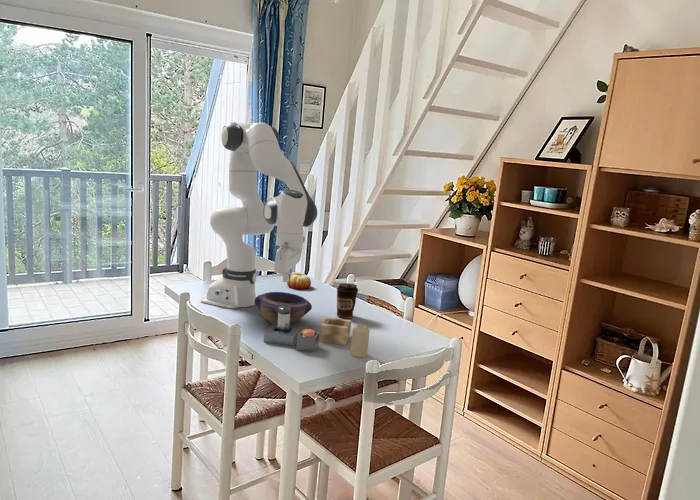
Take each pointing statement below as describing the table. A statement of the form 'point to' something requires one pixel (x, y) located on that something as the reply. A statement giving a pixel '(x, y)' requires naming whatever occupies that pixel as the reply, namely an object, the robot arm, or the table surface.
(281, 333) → the socket block
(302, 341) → the button housing
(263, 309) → the bowl
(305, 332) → the button
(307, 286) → the fruit
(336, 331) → the wooden box
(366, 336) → the candle
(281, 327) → the steel peg
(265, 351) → the table surface
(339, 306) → the coffee cup
